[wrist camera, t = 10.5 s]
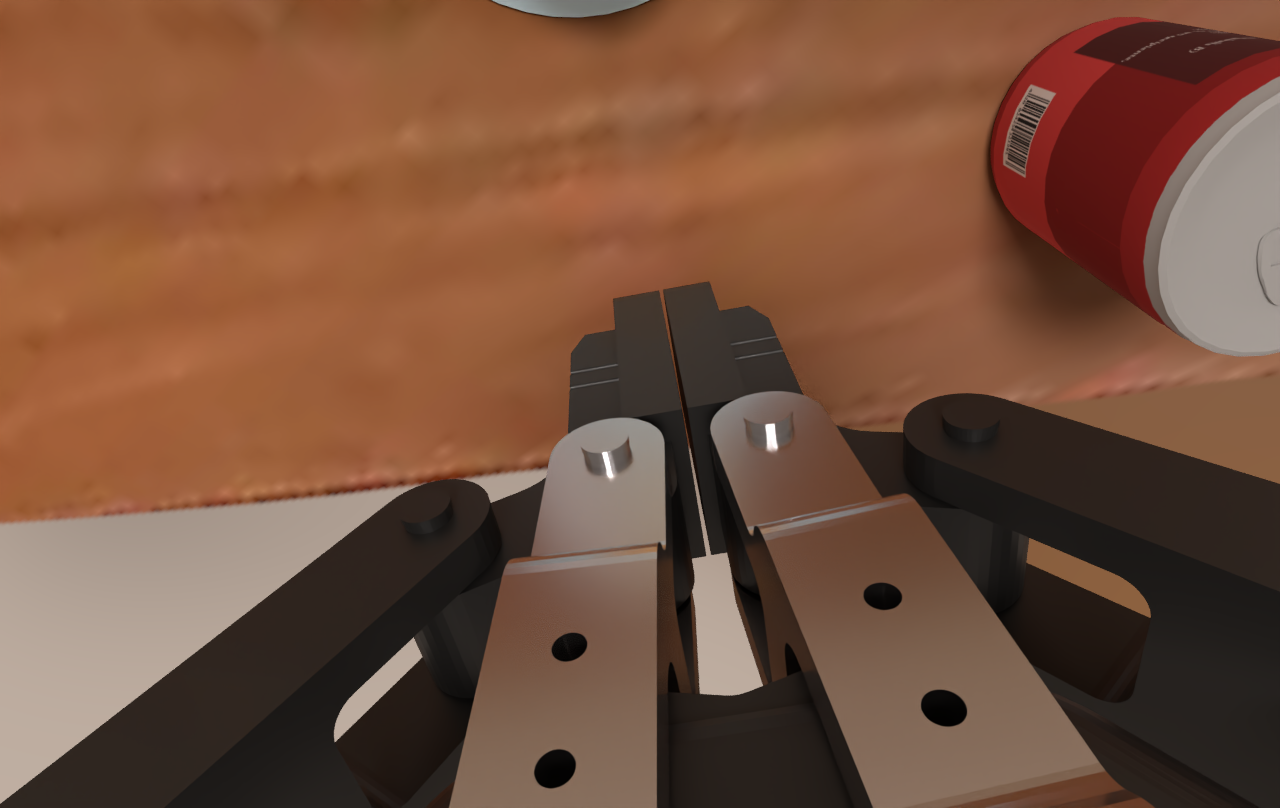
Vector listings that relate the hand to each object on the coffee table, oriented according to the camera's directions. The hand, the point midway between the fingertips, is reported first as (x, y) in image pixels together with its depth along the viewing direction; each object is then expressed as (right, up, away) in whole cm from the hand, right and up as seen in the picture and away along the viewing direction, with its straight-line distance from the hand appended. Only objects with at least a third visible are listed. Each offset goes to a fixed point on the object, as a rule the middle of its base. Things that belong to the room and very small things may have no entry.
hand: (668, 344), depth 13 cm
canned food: (+16, +10, +18) cm, 26 cm away
